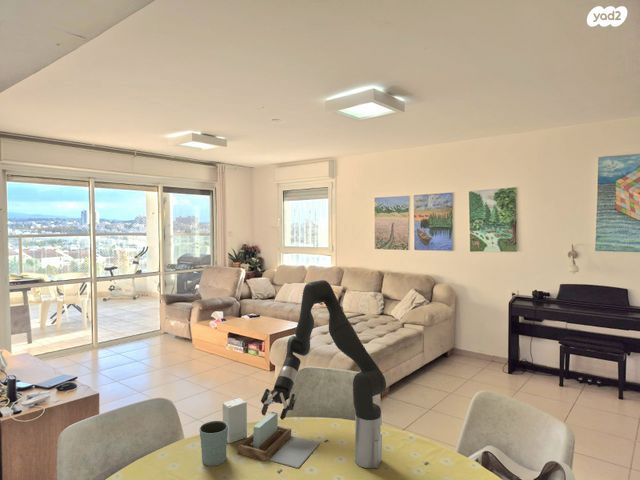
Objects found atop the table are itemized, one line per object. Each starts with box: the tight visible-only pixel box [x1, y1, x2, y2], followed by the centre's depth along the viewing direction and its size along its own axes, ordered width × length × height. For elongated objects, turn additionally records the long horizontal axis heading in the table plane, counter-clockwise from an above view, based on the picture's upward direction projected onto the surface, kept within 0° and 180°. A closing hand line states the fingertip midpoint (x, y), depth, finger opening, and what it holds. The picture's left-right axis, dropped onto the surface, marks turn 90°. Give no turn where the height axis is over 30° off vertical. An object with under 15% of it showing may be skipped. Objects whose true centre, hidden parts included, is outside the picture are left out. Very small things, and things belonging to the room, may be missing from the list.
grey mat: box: [268, 435, 321, 469], centre depth 156 cm, size 12×19×1 cm, turn 156°
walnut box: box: [237, 425, 292, 462], centre depth 161 cm, size 12×20×3 cm, turn 157°
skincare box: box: [222, 397, 248, 444], centre depth 166 cm, size 8×6×15 cm
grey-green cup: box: [199, 420, 228, 466], centre depth 151 cm, size 10×10×12 cm
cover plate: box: [253, 411, 279, 449], centre depth 161 cm, size 2×14×10 cm, turn 157°
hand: (272, 416), depth 166 cm, fingers open, 8 cm apart
